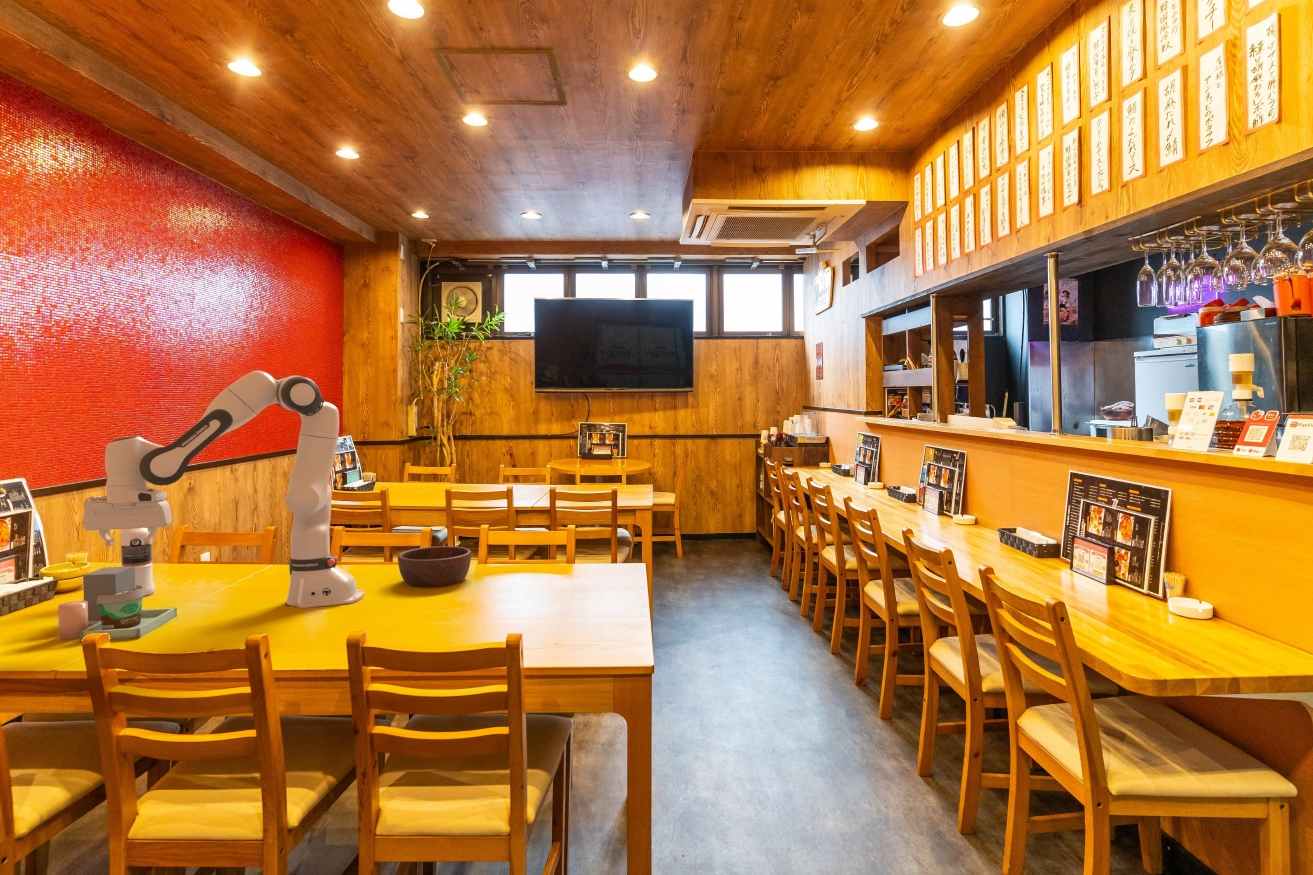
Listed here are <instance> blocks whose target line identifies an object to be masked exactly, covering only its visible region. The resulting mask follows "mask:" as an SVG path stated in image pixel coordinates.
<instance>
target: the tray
mask: <svg viewBox="0 0 1313 875" xmlns="http://www.w3.org/2000/svg"><path fill="white" fill-rule="evenodd" d="M177 610H178V609H177V607H168V608H167V607H165V608H147V609H145V608H144V609H142V611H141V623H140V624H139V625H137V626H135V627H132V628H127V629H110V630H102V624H101V622H99V623H97V624H94V625H91V626H88V628H87V629H85V630H83V631H81V632H79V639H78V640H79V642H80V643H81V640H82V639H83V637H85V636H86V635H87V634H90V633H108V634H109V635H110V638H111V640H110V641H113V640H115V641H117V640H128V639H129V640H130V639H141V638H143V637H145V636H146V635H148V634H149V633H151V632H153V631H155V630H156V629H158V628H160V627H161V626H163V625H164V624H166V623H168V622H170V621H171V620H174V619H175V618H176V617H177V616H178V611H177Z"/></svg>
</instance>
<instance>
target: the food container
mask: <svg viewBox="0 0 1313 875" xmlns="http://www.w3.org/2000/svg"><path fill="white" fill-rule="evenodd" d="M145 594H146V593H145V590H144V588H143V586H139V585H136V589H132V590H129V591H122V592H117V593H115V594H113V595H106V596H98V598H97V602H96V604H99V609H100V616H101V624H102V630H110V629H127V628H132V627H135V626H137V625H139V624H140V623H141V611H142V610H143V608H142V606H143V596H144V595H145ZM144 597H145V596H144Z"/></svg>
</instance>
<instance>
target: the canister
mask: <svg viewBox="0 0 1313 875" xmlns="http://www.w3.org/2000/svg"><path fill="white" fill-rule="evenodd" d="M57 612H58V615H57V617H58V618H57V619H58V620H57V621H58V640H59V641H62V642H63V641H64V642H65V641H66V642H67V641H74V640H79V632H81V631H83V630H85V629H87V628H89V625H88V601H84V600H72V601H65V602H63V603H60V604H58V605H57Z"/></svg>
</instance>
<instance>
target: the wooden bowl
mask: <svg viewBox="0 0 1313 875" xmlns="http://www.w3.org/2000/svg"><path fill="white" fill-rule="evenodd" d="M471 560H472V551H471V549H469V548H466V547H462V546H453V545H452V546H450V545H444V546H443V545H438V546H427V547H420V548H419V547H417V548H413V549H409V550H404V551H402V552H400V553H399V554H398V555H397V564H398V568H399V574H400V575H401V576H400V577H401V578H402V581H404V583H405V584H406V585H407V586H410V587H412V588H413V587H415V588H440V587H447V586H448V587H449V586H453V585H455V584H459V583H460V582H462V581H463V580H465V578H466V576H467V575H468V573H469V570H470V565H471Z"/></svg>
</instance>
